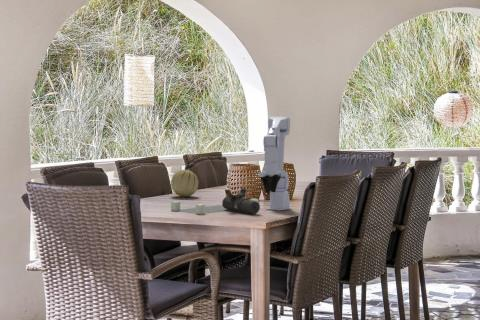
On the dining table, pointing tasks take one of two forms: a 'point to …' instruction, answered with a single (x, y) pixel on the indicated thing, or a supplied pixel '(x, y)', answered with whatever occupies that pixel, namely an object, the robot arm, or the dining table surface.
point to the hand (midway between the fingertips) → (270, 192)
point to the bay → (207, 209)
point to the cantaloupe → (184, 183)
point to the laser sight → (240, 203)
